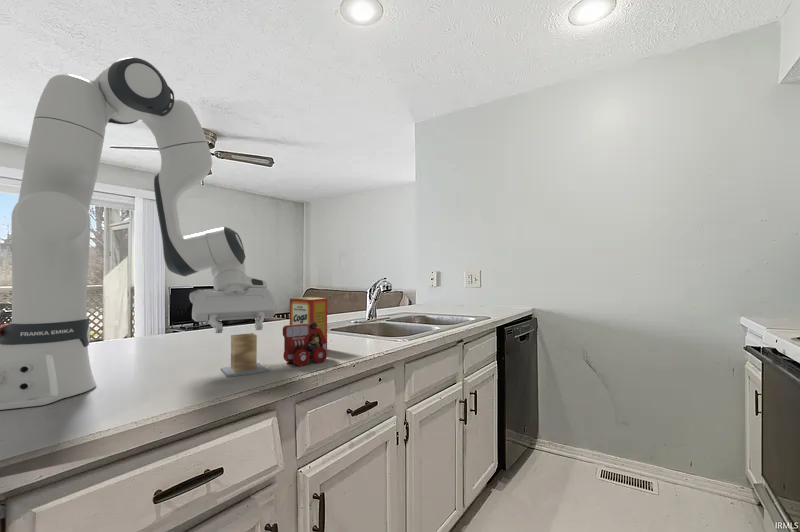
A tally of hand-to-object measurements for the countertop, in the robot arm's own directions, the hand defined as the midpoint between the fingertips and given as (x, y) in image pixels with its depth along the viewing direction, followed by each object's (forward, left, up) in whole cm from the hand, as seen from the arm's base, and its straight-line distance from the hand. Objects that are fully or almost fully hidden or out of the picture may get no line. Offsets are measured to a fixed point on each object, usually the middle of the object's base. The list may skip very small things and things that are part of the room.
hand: (239, 330), depth 96 cm
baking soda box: (+23, +12, -10) cm, 28 cm away
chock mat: (0, -4, -9) cm, 10 cm away
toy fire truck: (+16, -4, -10) cm, 19 cm away
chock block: (0, -4, -9) cm, 10 cm away
